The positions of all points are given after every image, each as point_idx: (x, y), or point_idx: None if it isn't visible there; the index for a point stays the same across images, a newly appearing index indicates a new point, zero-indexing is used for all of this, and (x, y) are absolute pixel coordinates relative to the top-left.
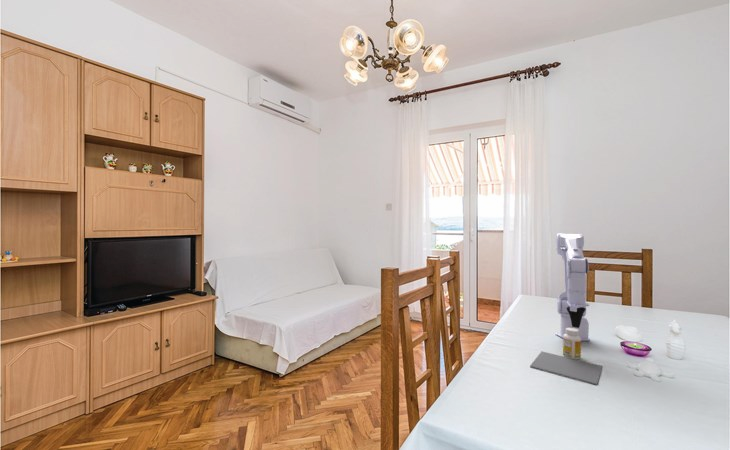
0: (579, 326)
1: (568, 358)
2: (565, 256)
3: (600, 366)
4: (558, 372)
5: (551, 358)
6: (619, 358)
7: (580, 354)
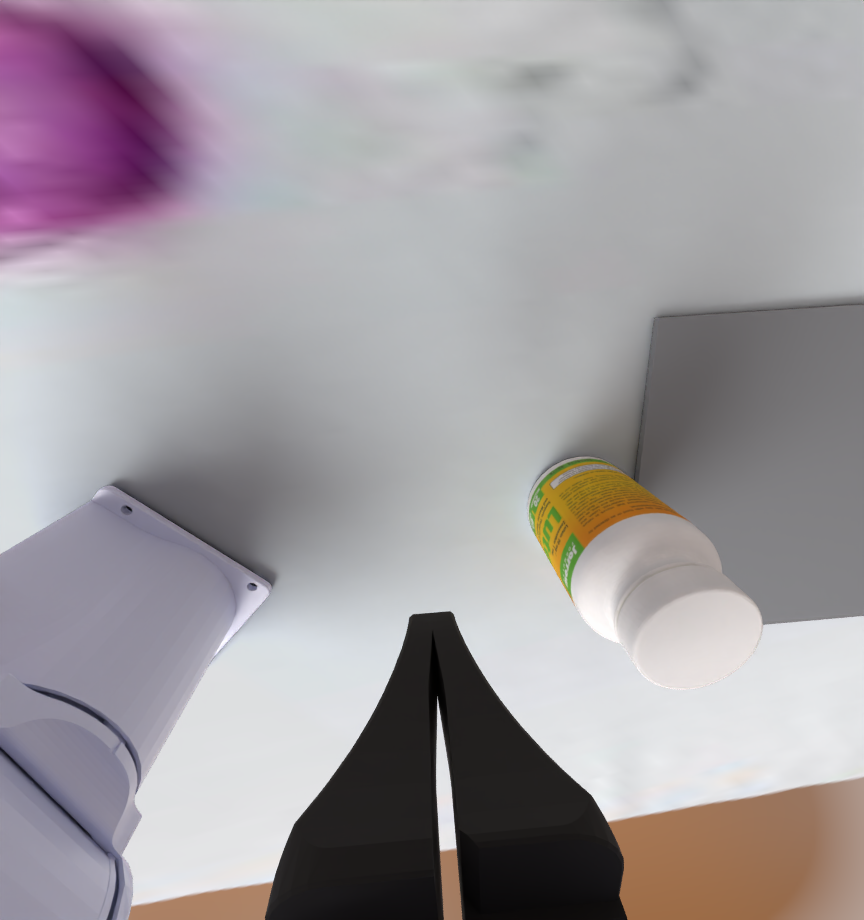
0: (424, 619)
1: None
2: None
3: (681, 324)
4: None
5: None
6: (366, 233)
7: (602, 465)
